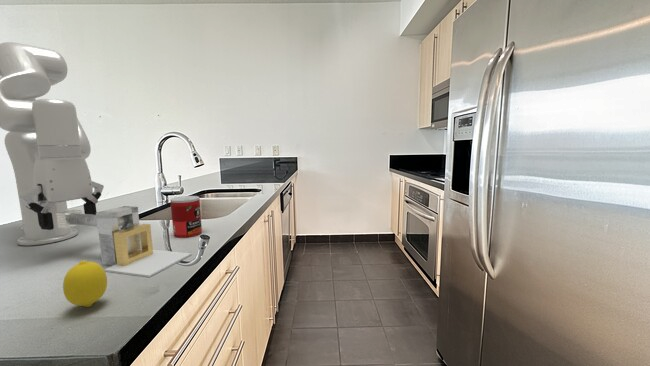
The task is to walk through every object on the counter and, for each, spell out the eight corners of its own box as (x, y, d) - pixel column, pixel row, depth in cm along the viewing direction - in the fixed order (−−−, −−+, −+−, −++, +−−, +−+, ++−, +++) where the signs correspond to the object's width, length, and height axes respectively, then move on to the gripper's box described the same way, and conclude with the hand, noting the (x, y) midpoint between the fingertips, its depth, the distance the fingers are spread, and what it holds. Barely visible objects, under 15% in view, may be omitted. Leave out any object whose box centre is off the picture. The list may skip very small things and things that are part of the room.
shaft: (58, 227, 69) (56, 212, 68) (74, 223, 72) (72, 209, 72) (115, 232, 64) (113, 216, 64) (130, 227, 68) (128, 213, 67)
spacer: (117, 265, 63) (113, 232, 62) (146, 252, 70) (143, 223, 69) (124, 266, 62) (120, 233, 61) (153, 253, 69) (150, 224, 68)
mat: (104, 271, 61) (104, 269, 61) (151, 250, 72) (151, 249, 72) (149, 277, 58) (149, 275, 58) (191, 255, 69) (191, 253, 69)
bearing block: (102, 264, 64) (95, 212, 63) (129, 253, 71) (124, 206, 69) (116, 266, 63) (109, 213, 62) (142, 254, 70) (137, 206, 68)
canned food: (191, 238, 82) (188, 200, 80) (167, 237, 83) (163, 200, 82) (207, 230, 89) (205, 196, 88) (184, 229, 91) (182, 195, 89)
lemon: (83, 298, 50) (77, 255, 49) (116, 296, 51) (111, 253, 49) (57, 317, 45) (49, 269, 44) (94, 315, 45) (88, 267, 44)
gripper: (87, 152, 77) (95, 214, 79) (1, 155, 61) (14, 233, 63) (108, 152, 75) (116, 215, 77) (25, 155, 59) (38, 235, 61)
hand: (70, 223), depth 70 cm, fingers open, 9 cm apart
